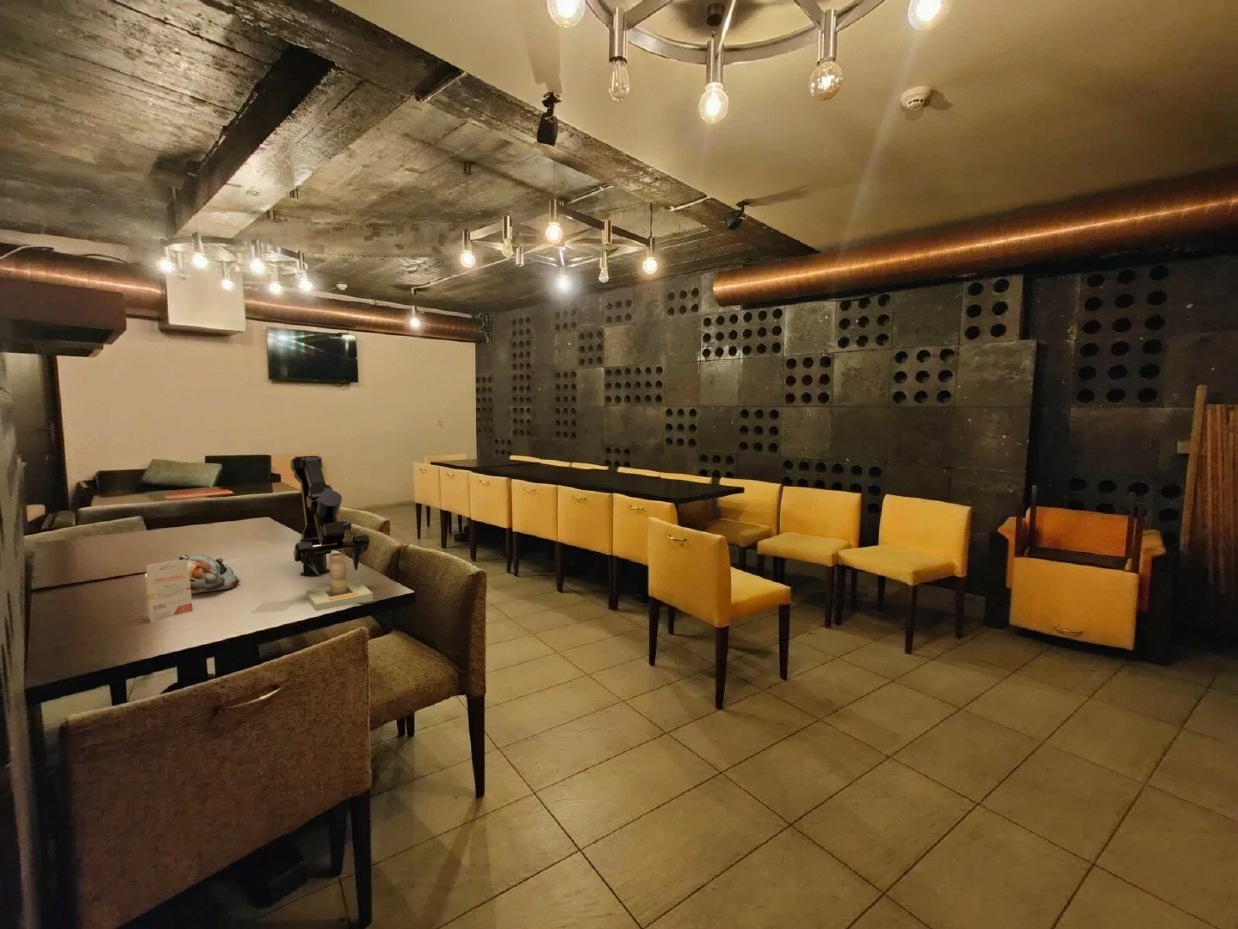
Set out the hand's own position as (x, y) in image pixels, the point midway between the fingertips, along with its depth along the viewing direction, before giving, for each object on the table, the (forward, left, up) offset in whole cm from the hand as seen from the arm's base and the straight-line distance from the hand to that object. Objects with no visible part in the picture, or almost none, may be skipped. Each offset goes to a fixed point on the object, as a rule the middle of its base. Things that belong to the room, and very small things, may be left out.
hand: (338, 572), depth 149 cm
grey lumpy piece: (+1, -44, -8) cm, 44 cm away
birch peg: (0, -1, -8) cm, 8 cm away
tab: (+9, -13, -8) cm, 18 cm away
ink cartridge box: (+19, -35, -8) cm, 40 cm away
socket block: (0, -1, -8) cm, 8 cm away
